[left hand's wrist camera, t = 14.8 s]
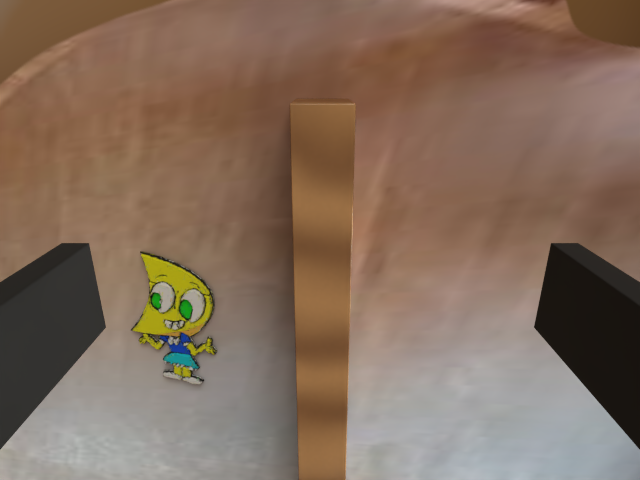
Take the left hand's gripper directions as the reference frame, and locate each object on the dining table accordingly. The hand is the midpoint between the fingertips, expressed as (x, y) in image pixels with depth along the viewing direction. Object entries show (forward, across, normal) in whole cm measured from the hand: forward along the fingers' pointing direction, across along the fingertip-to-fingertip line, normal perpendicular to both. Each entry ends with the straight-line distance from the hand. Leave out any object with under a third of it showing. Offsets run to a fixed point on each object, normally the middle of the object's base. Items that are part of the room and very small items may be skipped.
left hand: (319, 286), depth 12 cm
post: (+31, 0, -36) cm, 48 cm away
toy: (+31, -16, -20) cm, 41 cm away
